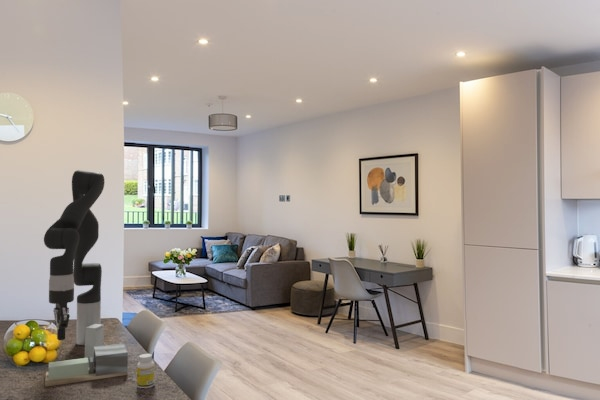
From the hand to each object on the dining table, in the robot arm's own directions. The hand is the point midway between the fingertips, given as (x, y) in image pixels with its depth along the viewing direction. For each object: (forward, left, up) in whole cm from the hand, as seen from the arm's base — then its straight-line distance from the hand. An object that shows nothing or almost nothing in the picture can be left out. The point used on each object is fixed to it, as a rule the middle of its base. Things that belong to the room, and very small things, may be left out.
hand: (61, 339), depth 160 cm
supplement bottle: (+19, +24, -13) cm, 34 cm away
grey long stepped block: (0, +8, -13) cm, 16 cm away
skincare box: (-19, +11, -13) cm, 26 cm away
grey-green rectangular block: (0, +3, -12) cm, 12 cm away
